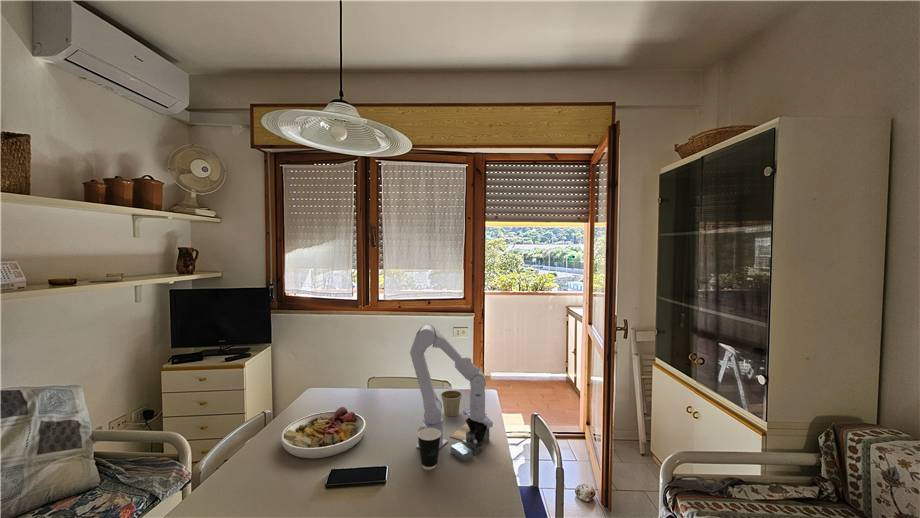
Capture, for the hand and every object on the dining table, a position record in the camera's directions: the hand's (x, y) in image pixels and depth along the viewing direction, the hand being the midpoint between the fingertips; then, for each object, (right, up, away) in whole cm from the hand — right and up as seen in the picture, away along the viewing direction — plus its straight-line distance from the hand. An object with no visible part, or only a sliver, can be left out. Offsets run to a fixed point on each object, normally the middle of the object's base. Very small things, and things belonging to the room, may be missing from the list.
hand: (477, 439), depth 142 cm
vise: (-4, -2, -6) cm, 8 cm away
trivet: (-3, -1, +8) cm, 9 cm away
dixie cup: (-17, -2, -14) cm, 22 cm away
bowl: (-58, -2, +3) cm, 58 cm away
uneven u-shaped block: (+1, -1, -2) cm, 3 cm away
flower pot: (-10, -1, +25) cm, 27 cm away
